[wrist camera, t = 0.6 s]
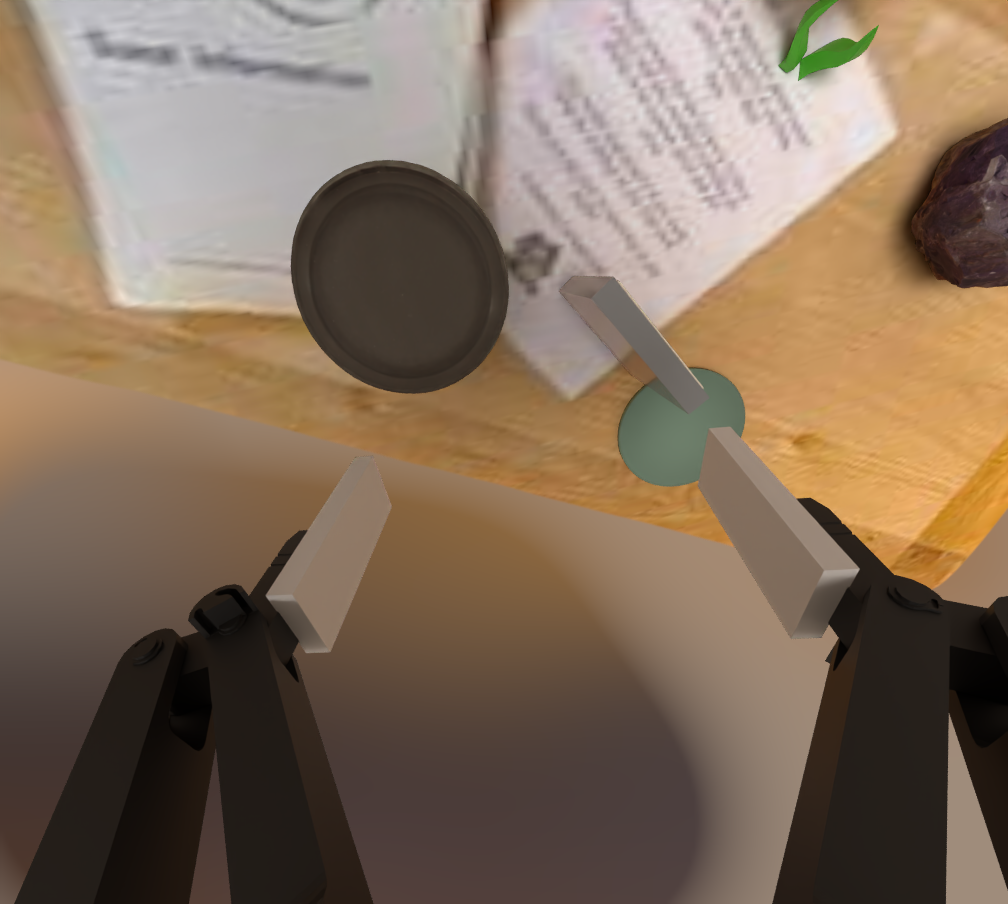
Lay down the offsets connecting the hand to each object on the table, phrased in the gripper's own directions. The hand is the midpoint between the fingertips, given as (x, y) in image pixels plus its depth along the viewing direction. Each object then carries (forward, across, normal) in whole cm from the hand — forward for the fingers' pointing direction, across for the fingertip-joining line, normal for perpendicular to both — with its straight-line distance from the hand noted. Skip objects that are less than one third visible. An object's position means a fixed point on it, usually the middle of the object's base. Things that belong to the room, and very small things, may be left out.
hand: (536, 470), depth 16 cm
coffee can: (+21, -7, +4) cm, 23 cm away
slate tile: (+21, +6, -1) cm, 22 cm away
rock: (+25, +33, +3) cm, 42 cm away
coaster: (+21, +14, -11) cm, 27 cm away
